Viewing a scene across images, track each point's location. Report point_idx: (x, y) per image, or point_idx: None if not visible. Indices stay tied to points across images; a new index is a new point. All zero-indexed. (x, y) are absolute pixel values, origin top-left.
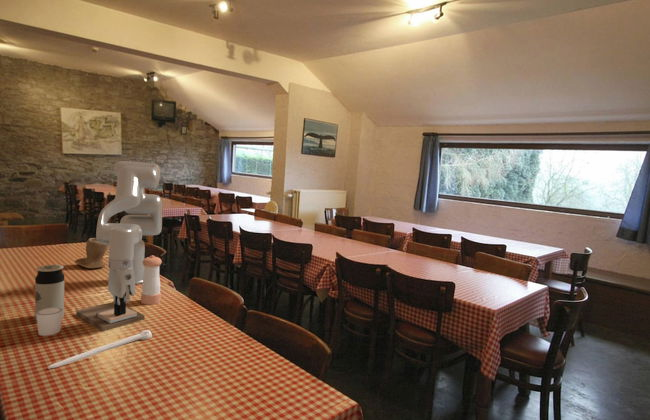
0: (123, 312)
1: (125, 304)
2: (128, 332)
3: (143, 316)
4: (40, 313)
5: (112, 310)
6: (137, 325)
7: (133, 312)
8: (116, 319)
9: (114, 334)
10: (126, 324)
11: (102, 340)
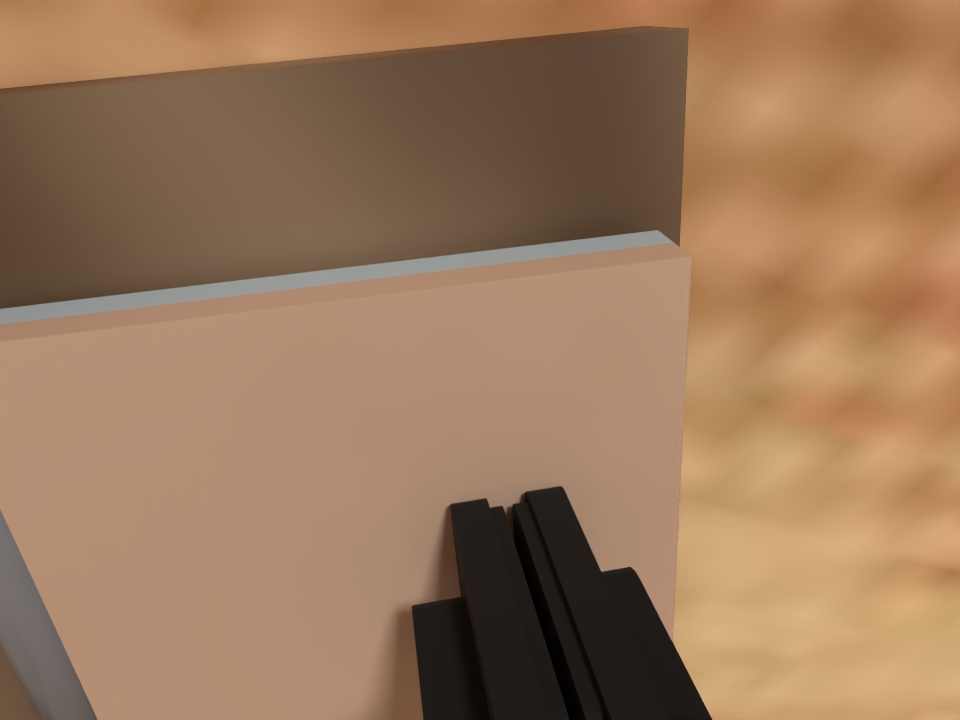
0: (630, 577)
1: (644, 682)
2: (924, 458)
3: (674, 55)
4: None
5: (131, 627)
6: (810, 266)
7: (612, 318)
8: None
9: (829, 601)
10: None
11: (865, 716)
